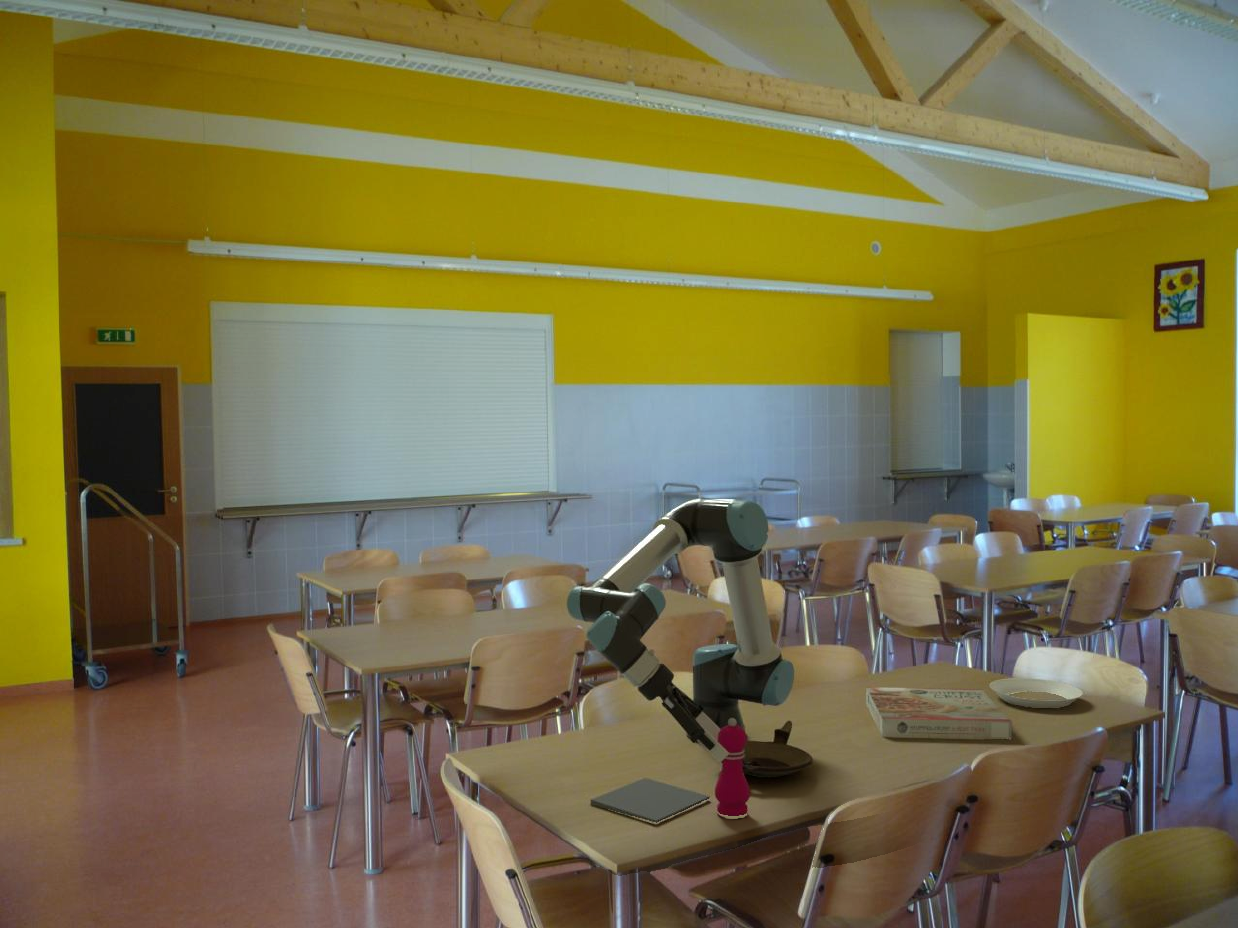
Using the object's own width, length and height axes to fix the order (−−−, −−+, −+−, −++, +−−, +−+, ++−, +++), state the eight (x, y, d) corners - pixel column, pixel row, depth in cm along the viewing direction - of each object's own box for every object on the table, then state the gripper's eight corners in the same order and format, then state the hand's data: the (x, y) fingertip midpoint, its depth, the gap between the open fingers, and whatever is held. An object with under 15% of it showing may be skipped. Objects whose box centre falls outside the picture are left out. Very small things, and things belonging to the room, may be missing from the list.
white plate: (971, 694, 314) (971, 681, 313) (1042, 687, 321) (1042, 675, 321) (1027, 716, 290) (1028, 703, 290) (1102, 708, 297) (1102, 695, 297)
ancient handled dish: (690, 773, 244) (690, 740, 244) (776, 746, 264) (776, 716, 264) (764, 799, 227) (764, 764, 227) (849, 768, 247) (850, 736, 247)
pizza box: (882, 718, 271) (866, 686, 303) (882, 738, 271) (866, 705, 303) (1011, 721, 268) (981, 689, 300) (1011, 742, 268) (981, 707, 300)
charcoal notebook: (590, 804, 225) (590, 799, 225) (645, 782, 238) (645, 777, 238) (656, 825, 213) (656, 820, 213) (709, 800, 226) (709, 796, 226)
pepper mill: (722, 822, 214) (722, 724, 213) (709, 809, 221) (709, 714, 220) (755, 818, 216) (755, 721, 215) (742, 805, 223) (742, 712, 222)
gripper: (662, 676, 205) (739, 753, 205) (661, 649, 230) (730, 717, 230) (634, 703, 206) (712, 780, 206) (636, 673, 231) (705, 741, 231)
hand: (722, 747), depth 218 cm, fingers open, 13 cm apart
